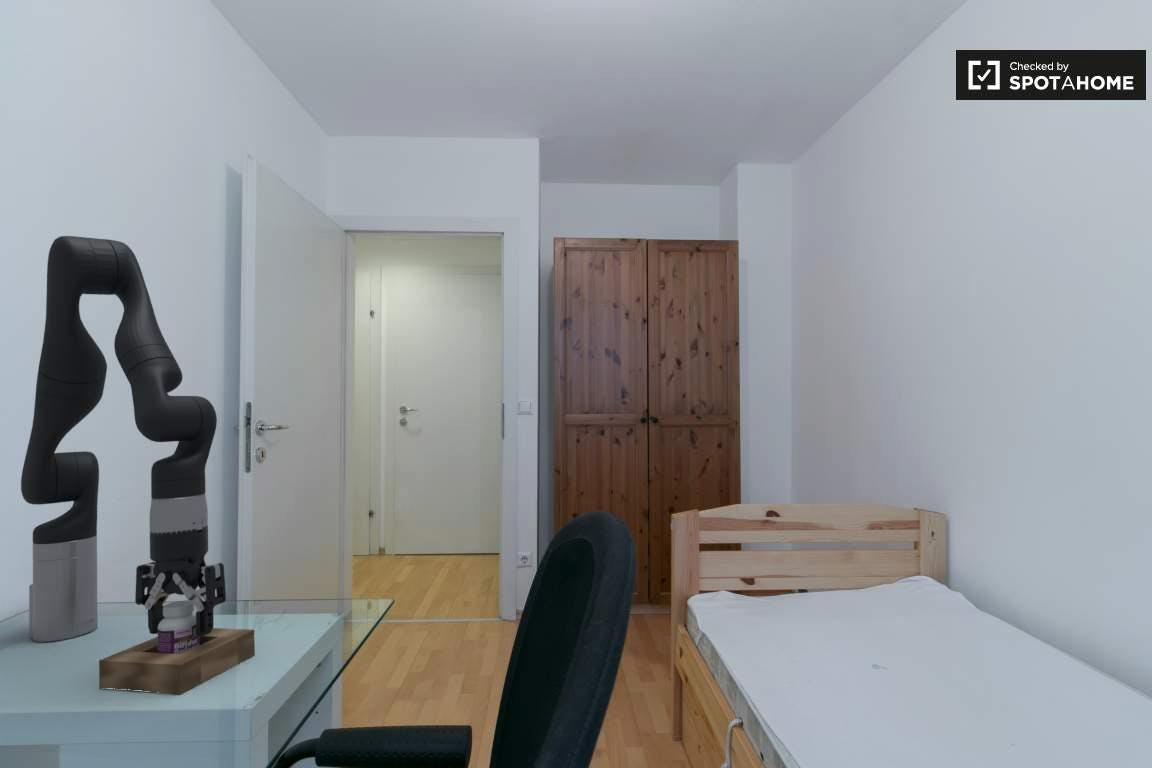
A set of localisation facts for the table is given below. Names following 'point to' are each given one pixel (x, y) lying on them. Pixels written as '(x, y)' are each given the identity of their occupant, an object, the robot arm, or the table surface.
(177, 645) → the pill bottle
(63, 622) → the robot arm
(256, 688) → the table surface
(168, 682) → the well block
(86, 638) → the table surface
